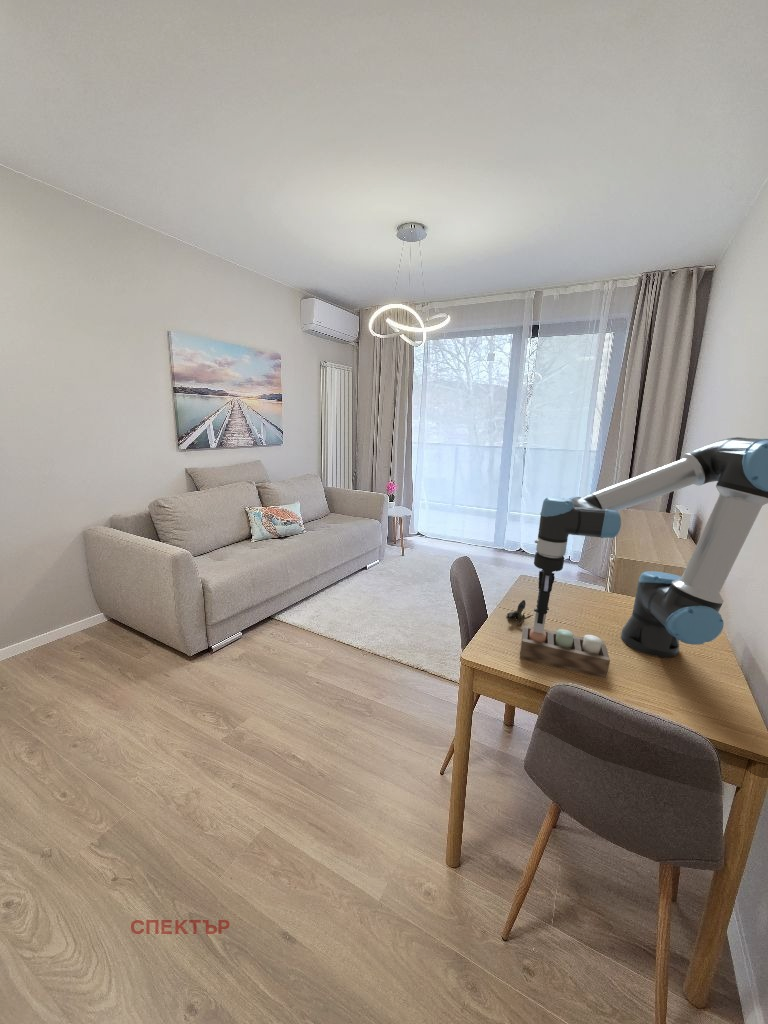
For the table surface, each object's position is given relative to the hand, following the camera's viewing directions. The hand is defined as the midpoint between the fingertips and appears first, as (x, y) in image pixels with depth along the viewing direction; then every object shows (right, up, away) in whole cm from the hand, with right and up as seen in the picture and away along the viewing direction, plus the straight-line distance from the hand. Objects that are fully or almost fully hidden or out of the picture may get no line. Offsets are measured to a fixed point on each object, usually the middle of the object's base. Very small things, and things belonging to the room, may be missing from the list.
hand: (538, 631), depth 118 cm
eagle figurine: (+1, -2, +21) cm, 21 cm away
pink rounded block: (0, -5, +1) cm, 5 cm away
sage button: (+6, -5, -2) cm, 8 cm away
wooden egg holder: (+6, -8, -1) cm, 10 cm away
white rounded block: (+13, -5, -4) cm, 14 cm away
